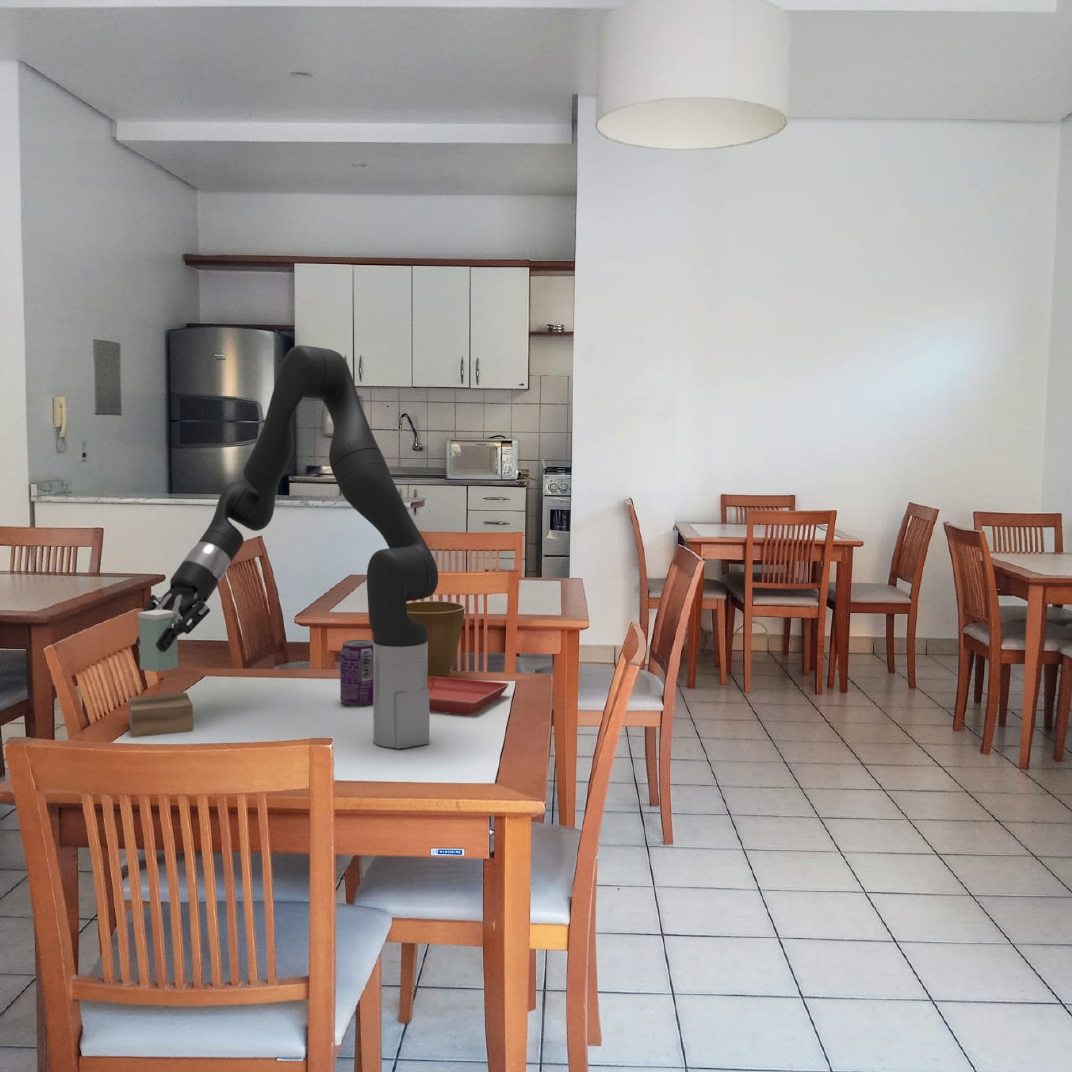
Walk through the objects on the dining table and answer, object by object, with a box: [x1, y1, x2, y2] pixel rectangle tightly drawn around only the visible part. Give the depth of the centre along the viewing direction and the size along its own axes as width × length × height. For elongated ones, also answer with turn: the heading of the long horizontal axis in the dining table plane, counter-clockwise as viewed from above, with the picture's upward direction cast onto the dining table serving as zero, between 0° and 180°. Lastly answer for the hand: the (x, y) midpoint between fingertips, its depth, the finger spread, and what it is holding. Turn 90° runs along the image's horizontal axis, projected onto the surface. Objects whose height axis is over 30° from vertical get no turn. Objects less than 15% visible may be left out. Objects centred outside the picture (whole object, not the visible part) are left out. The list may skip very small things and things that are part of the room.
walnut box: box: [127, 692, 194, 738], centre depth 184 cm, size 10×10×5 cm
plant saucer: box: [428, 677, 510, 716], centre depth 203 cm, size 18×18×3 cm
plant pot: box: [406, 600, 466, 678], centre depth 223 cm, size 15×15×16 cm
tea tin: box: [137, 610, 179, 673], centre depth 183 cm, size 5×5×10 cm
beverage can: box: [339, 639, 373, 707], centre depth 202 cm, size 7×7×12 cm
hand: (150, 647), depth 181 cm, fingers closed on tea tin, 4 cm apart
